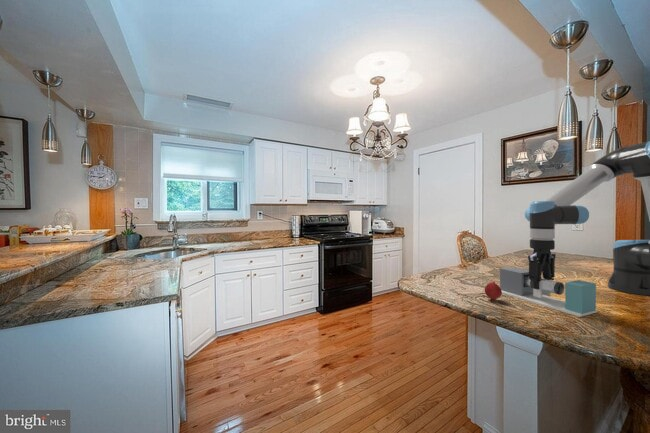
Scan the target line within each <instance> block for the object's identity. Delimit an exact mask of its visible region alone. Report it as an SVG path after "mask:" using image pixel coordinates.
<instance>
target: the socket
mask: <svg viewBox="0 0 650 433" xmlns="http://www.w3.org/2000/svg"><path fill="white" fill-rule="evenodd" d="M564 293H565V295H564V297H565V300H564V301H565V309H566V310H570V311H573V312H576V313H580V314H584V313H588V312H592V311H595V310H597V282H592V281H586V280H581V279H577V280H572V281H567V282H565V285H564Z"/></svg>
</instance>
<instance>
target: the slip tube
mask: <svg viewBox="0 0 650 433" xmlns="http://www.w3.org/2000/svg"><path fill="white" fill-rule="evenodd" d="M541 282H542V290H543V291H547V292H551V294H555V295H559V296H561V295H562V294H564V293H565V285H564V283H563V282H562V281H561V282H559V281H555V280H546V279H544V278H543V277H541ZM524 286H527V287H531V288H532V289H533V280H530V279H529V276H528V275H524Z"/></svg>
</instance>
